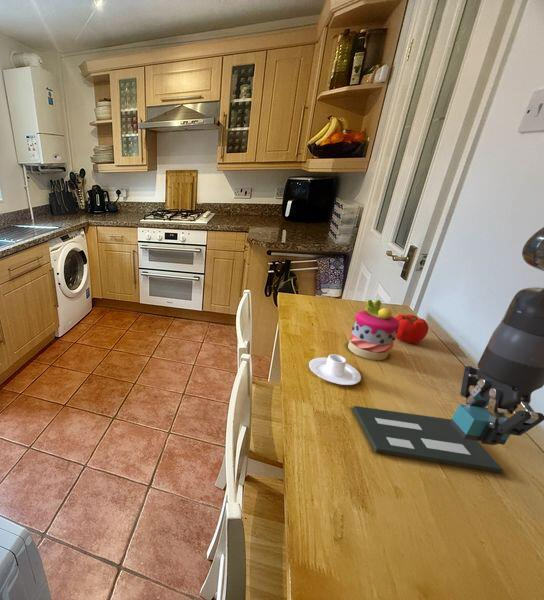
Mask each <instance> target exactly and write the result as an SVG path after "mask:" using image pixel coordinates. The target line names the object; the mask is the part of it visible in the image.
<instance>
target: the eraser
mask: <svg viewBox="0 0 544 600" xmlns="http://www.w3.org/2000/svg"><path fill="white" fill-rule="evenodd" d="M487 408H488V407H485V408H484V407H477V406H469V405H466V404H462V403H459V404H458V405H457V408H456V409H455V411H454V413H453V416H452V417H451V421H450V423H451V424H452V426H453V427H454V428H455V429H456V430H457V431H458V432H459V434H460V435H461V436H462V437H463V438H464V439H469V440H476V441H478V442H480V441H479V436H480V435H481V433H482V431H483V429H484V428H485V426H486V424H488V419H489V415H490V413H488V412H487ZM502 420H503V417H499V420H498V422H502ZM509 437H511V435H510V434H504V435H503V437H502V438H501V440H500V442H499V443H498V444H497V445H505V444H506V442H507V441H508V440H509Z"/></svg>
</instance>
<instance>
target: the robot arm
mask: <svg viewBox="0 0 544 600" xmlns="http://www.w3.org/2000/svg"><path fill="white" fill-rule="evenodd" d="M521 256H522V259H523V261H524V262H525V264H527V265H528V266H530V267H532V268H534V269H536V270H539V271H541V272H544V226H542V228H540V229H539V230H537V231H536V232H535V233H533V234H532V235H531V236H530V237H529V238H528V239H527V240H526V242H525V244H524V245H523V247H522V251H521ZM472 386H473V388H472V389H471V390H470V387H472ZM543 387H544V287H541V286H533V287H532V286H531V287H524V288H522V289H520V290H518V291H517V292H516V293H515V294H514V296H513V298H512V299H511V301H510V303H509V305H508V307H507V309H506V311H505V313H504V315H503V317H502V320H501V321H500V322H499V324H498V325H497V326H496V328H495V329H494V331H493V332H492V334H491V336H490V338H489V340H488V342H487V344H486V346H485V348H484V350H483V353H482V355H481V357H480V359H479V360H478V363H477V366H474V365H471V366H470V365H465V366H464V369H463V375H462V381H461V386H460V396H461V397H462V398H465V405H469V406H477V407H484V408H487V412H488V413H490V415H489V419H488V424H486V426H485V428H484V429H483V431H482V433H481V435H480V436H479V441H478V442H479V443H480V444H482V445H490V446H494V445H495V446H497V445H499V444H498V443H499V442H500V440H501V438H502V437H503V435H504V434H510V436H518V437H521V436H522V435H524V434H525V433H527V432H528V431H530V430H531V429H533V428H534V427H536V426H538V425H540V423H542V422H544V414H543V413H542V412H537V411H535V410H534V409H533V408H532V406H531V405H530V403H531V400H532V397H531V396H532V394H533V392H535V391H537V390H539V389H541V388H543ZM499 417H503V420H502V422H498V420H499Z"/></svg>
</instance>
